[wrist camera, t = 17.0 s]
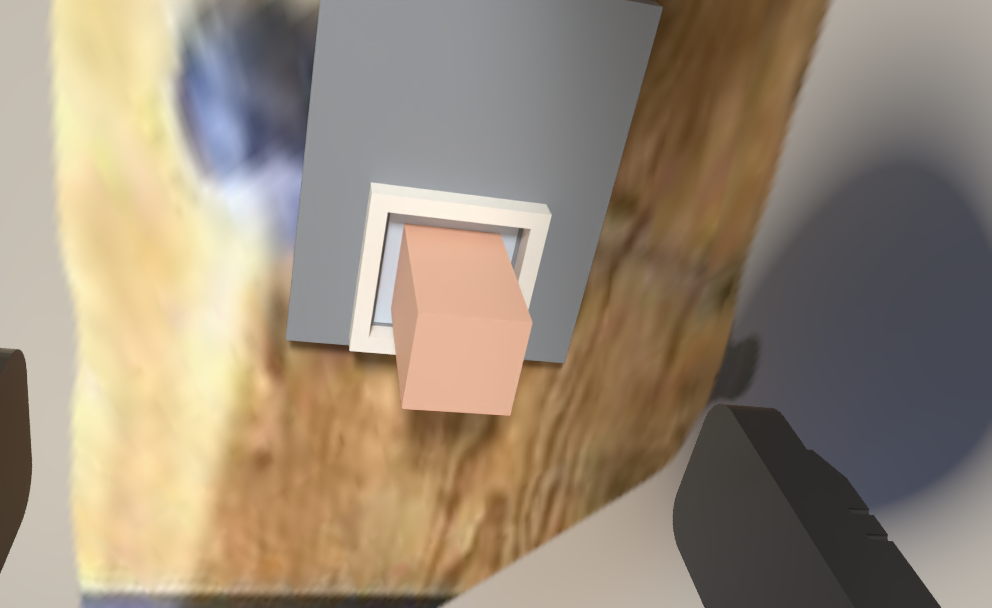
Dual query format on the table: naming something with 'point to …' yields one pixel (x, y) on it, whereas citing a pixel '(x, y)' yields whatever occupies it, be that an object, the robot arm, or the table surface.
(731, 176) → the table surface
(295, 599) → the table surface
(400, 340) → the pillar block
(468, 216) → the build board
